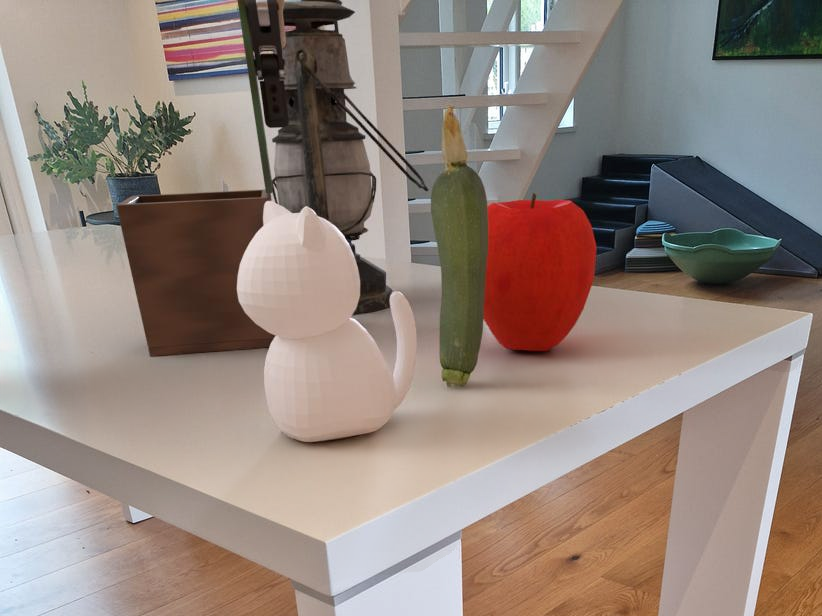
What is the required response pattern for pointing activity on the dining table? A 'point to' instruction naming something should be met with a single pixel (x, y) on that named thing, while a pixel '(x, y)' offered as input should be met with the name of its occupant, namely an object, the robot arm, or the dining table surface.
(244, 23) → the lid
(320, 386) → the cat figurine
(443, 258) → the vegetable
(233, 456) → the dining table surface
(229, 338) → the brown wooden bin
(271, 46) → the robot arm
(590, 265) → the apple
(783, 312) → the dining table surface
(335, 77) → the lantern
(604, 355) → the dining table surface
